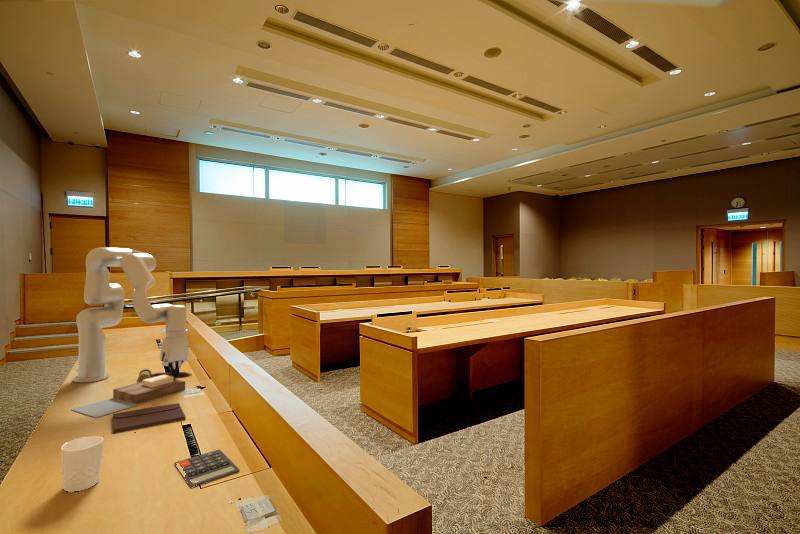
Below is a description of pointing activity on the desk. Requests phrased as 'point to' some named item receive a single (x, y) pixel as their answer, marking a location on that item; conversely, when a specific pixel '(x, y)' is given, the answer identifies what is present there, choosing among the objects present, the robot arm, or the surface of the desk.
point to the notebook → (147, 417)
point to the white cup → (81, 463)
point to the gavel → (156, 374)
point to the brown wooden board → (147, 391)
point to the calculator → (207, 467)
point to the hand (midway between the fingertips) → (174, 377)
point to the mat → (104, 407)
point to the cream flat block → (157, 380)
